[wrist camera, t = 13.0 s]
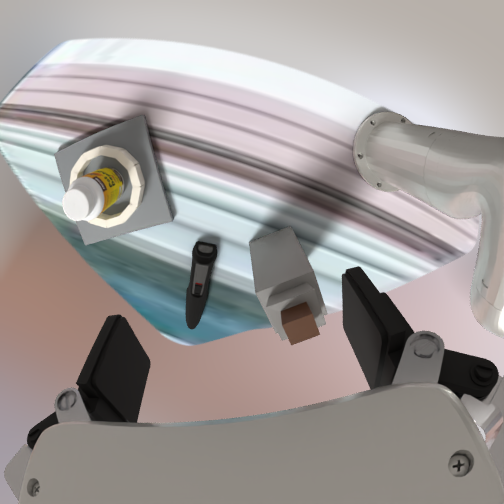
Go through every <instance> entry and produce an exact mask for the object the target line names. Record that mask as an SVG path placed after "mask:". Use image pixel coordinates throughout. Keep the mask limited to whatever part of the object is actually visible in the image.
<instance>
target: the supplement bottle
mask: <svg viewBox="0 0 504 504" xmlns="http://www.w3.org/2000/svg"><path fill="white" fill-rule="evenodd" d="M123 191H124V180H123V178H122V176H121V174H120V173H119V172H118V171H117V170H116V169H114V168H111V167H104V168H101V169H98V170H96V171H93V172H91V173H89V174H86V175H84V176H82V177H80V178H78V179H76V180H74V181H73V182H72V183H71V185H70V186H69V188H68V191H67V192H66V193H65V195H64V197H63V201H62V205H63V209H64V212H65V214H66V215H67V216H68V217H69V218H70V219H72V220H74V221H81V220H86V221H87V220H92V219H94V218H96V217H97V216H98V215H100V214H101V213H102V212H103V211H105V210H106V209H107V208H109V207H110V206H111V205H113V204H114V203H115V202H116V201H118V200H119V199H120V197H121V196H122V194H123Z"/></svg>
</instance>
